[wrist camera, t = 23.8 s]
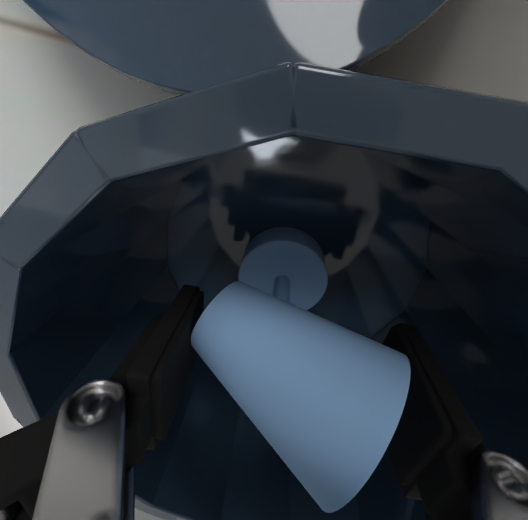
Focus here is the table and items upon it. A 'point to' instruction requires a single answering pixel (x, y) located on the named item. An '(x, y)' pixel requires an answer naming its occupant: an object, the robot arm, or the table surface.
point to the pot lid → (230, 34)
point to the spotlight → (303, 368)
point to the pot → (253, 223)
